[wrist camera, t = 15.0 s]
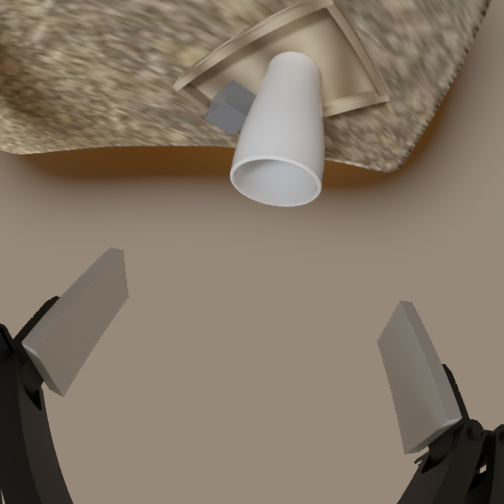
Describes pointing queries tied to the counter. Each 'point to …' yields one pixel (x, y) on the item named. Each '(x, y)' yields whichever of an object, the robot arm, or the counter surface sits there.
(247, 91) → the cube
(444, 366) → the robot arm
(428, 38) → the counter surface
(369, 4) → the counter surface
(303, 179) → the drinking glass
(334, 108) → the tray
